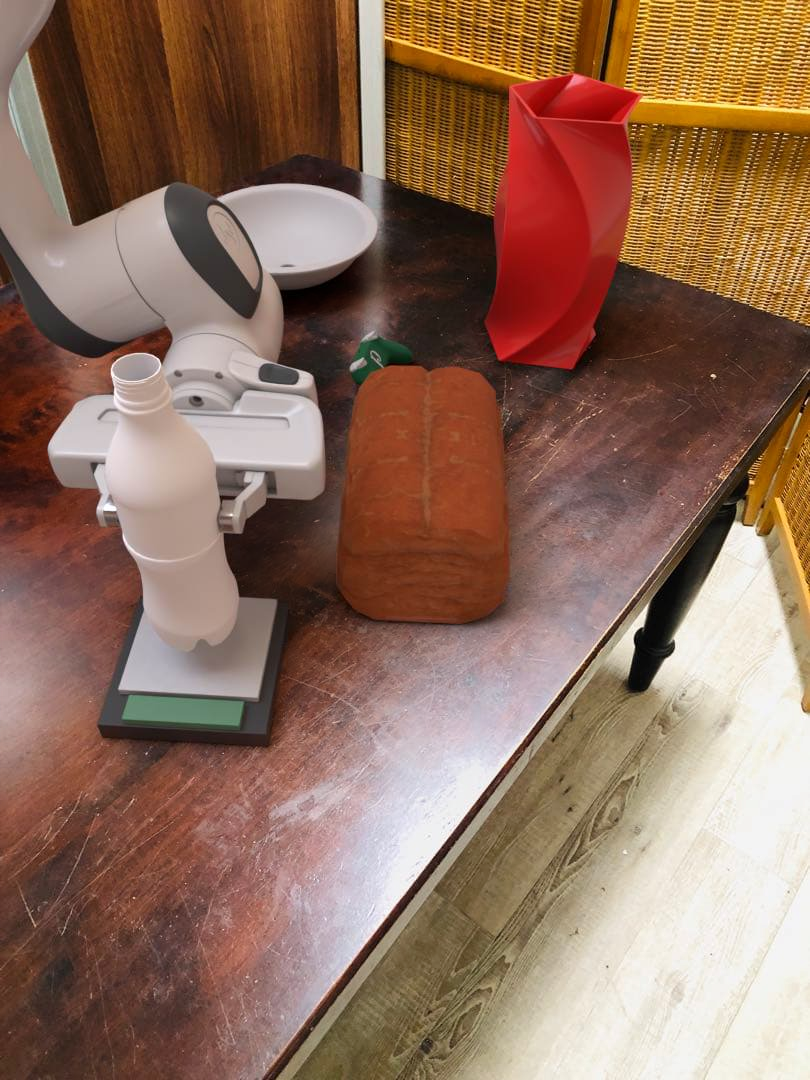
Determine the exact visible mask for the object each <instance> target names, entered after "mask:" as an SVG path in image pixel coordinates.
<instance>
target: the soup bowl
mask: <svg viewBox="0 0 810 1080" xmlns="http://www.w3.org/2000/svg"><path fill="white" fill-rule="evenodd" d="M216 199H217V200H219V201H220V202H221V203H223V204H224V205H226V206H227V207H228V208H229V209H230V210H231V211H232V212H233V213H234V214H235V216H236V217H237V218H238V220H239V221H240V223H241V224H242V226H243V227H244V229H245V230H246V232H247V234H248V235H249V237H250V239H251V241H252V243H253V245H254V248H255V250H256V252H257V255H258V257H259V260H260V263H261V266H262V267H263V268H264V269H265V270H266V271H267V272H268V273H269V274H270V275H271V276H272V278H273V279H274V281H275V283H276V284H277V286H278V288H279V291H294V290H295V291H297V290H303V289H306V288H313V287H316V286H318V285H322V284H324V283H327V282H328V281H331V280H333V279H335V277H337V276H339V275H340V274H342V273H343V272H344V271H346V270H347V269H348V268H349V267H350V266H351V265H352V264H353V263H354V262H355V260H356V259H357V258H358V257H360V256H361V255H363V254H364V253H365V252H367V251H368V250H369V249H370V247H372V245H373V244H374V243H375V241H376V238H377V236H378V232H379V224H378V220H377V217H376V214H375V213H374V212H373V210H372V209H371V208H370V207H369V206H368V205H367V204H366V203H364V202H363V201H362V200H360V199H358V198H356V197H355V196H353V195H350V194H348V193H346V192H343V191H340V190H337V189H333V188H330V187H325V186H321V185H315V184H314V185H312V184H307V183H304V184H303V183H272V184H262V185H256V186H250V187H245V188H241V189H238V190H234V191H232V192H229V193H226V194H223V195H221V196H219V197H217V198H216Z"/></svg>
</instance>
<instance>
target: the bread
mask: <svg viewBox="0 0 810 1080" xmlns="http://www.w3.org/2000/svg"><path fill="white" fill-rule="evenodd" d="M357 391H358V392H357V395H356V397H355V398H354V400H353V407H352V412H351V418H350V423H349V429H348V435H347V444H346V452H345V468H344V469H345V470H344V482H343V483H344V484H343V489H342V493H341V499H340V508H339V509H340V511H339V523H338V533H337V534H338V538H337V544H336V586H337V588H338V589H339V591H340V593H341V594H342V596H343V598H344V599H345V600H346V601H347V603H349V605H350V606H351V607H352V608H353V610H354V611H355V612H358V613H359V614H362V615H363V616H366V617H369V618H371V619H373V620H376V621H396V622H415V623H416V622H417V623H435V624H436V623H437V624H439V623H440V624H456V625H457V624H458V625H459V624H460V625H462V624H465V623H468V622H472V621H475V620H479V619H483V618H486V617H487V616H489V615H490V614H491V613H492V612H493V611H494V610H496V608H497V607H498V606H500V605H501V604H502V603H503V602H504V601H505V596H506V595H505V594H506V588H507V587H508V584H509V583H510V580H511V538H510V537H511V536H510V535H511V534H510V533H511V532H510V530H511V529H510V511H509V510H510V509H509V501H508V494H507V493H508V492H507V484H506V473H505V461H506V460H505V458H506V457H505V443H504V434H503V424H502V423H503V421H502V411H501V408H500V406H499V404H498V402H497V391H496V389H494V387H493V386H492V385H491V383H490V382H488V380H487V379H486V378H485V377H484V376H483V375H482V373H480V372H479V371H474V370H470V369H467V368H463V367H459V366H455V365H454V366H445V367H444V366H443V367H437V368H434V369H432V370H430V371H428V370H427V369H425V367H423V366H422V365H391V364H390V365H387V367H385V368H382V369H379V370H376V371H373V372H371V373H370V374H369V376H368V377H367V378H366V380H365V381H364V382H363V384H362V385H361V386H359V388H358V390H357Z"/></svg>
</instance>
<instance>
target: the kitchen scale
mask: <svg viewBox="0 0 810 1080" xmlns="http://www.w3.org/2000/svg"><path fill="white" fill-rule="evenodd" d="M291 618H292V614H291V605H290V603H289V602H278V599H276V598H260V597H259V598H258V597H244V596H243V597H241V596H239V605H238V612H237V617H236V621H235V624H234V627H233V629H232V631H231V632H230V634H229V635H228V636H227V638H226V639H225V640H224V641H222V642H221V643H220V644H217V645H214V646H211V645H210V644H209V643H208V642H207V641H206V640H204V639H200V640H198V641H197V644H196V646H195V648H194V649H192V650H191V651H189V652H184V651H180V650H177V649H175V648H173V647H171V646H169V645H168V644H166V643H165V642H164V641H163V640H162V639H161V638H160V637H159V636H158V634H157V633H156V632H155V630H154V629H153V627H152V626H151V624H150V623H149V621H148V619H147V616H146V613H145V610H144V606H143V594H140V595H139V598H138V601H137V604H136V607H135V610H134V613H133V615H132V619H131V622H130V625H129V628H128V631H127V633H126V637H125V640H124V642H123V645H122V649H121V652H120V655H119V658H118V661H117V663H116V666H115V670H114V673H113V675H112V679H111V681H110V684H109V688H108V691H107V693H106V696H105V699H104V701H103V705H102V709H101V711H100V714H99V717H98V720H97V723H96V726H97V729H98V731H99V733H100V735H101V737H102V738H114V739H115V738H118V739H132V740H135V739H136V740H149V741H151V740H152V741H169V742H185V743H202V744H218V745H237V746H252V747H253V746H256V747H268V746H269V742H270V737H271V730H272V724H273V720H274V719H273V718H274V714H275V708H276V702H277V697H278V691H279V686H280V685H279V684H280V679H281V676H282V675H281V674H282V668H283V663H284V657H285V651H286V646H287V639H288V635H289V629H290V624H291Z"/></svg>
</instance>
